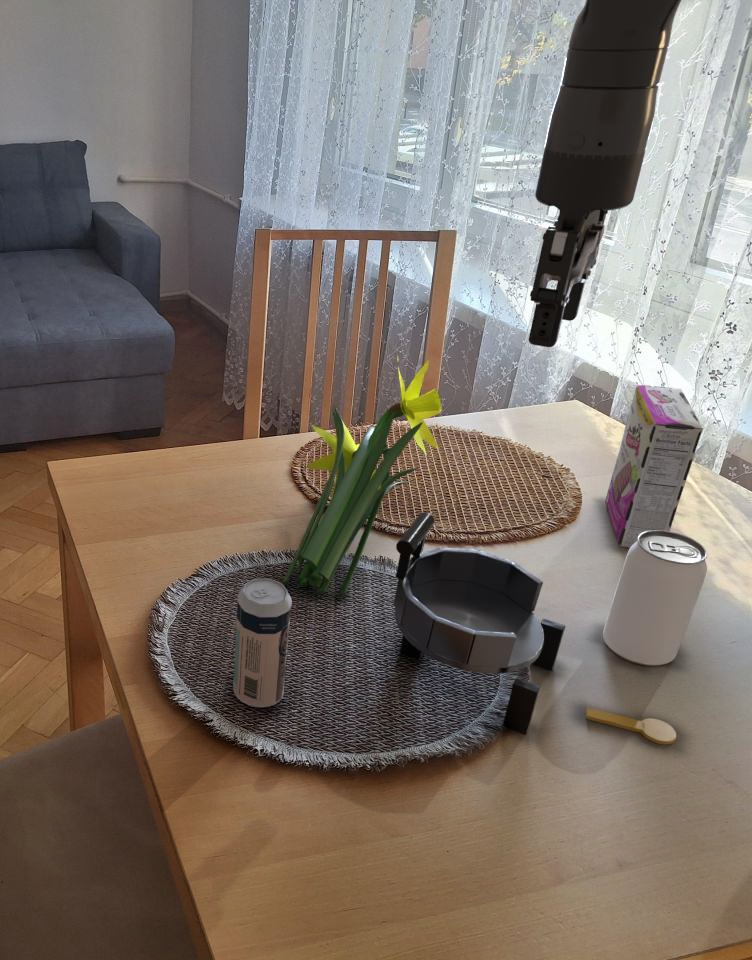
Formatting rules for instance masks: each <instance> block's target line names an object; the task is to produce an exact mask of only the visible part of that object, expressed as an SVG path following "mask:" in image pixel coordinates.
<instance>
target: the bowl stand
mask: <svg viewBox="0 0 752 960" xmlns="http://www.w3.org/2000/svg"><path fill="white" fill-rule="evenodd" d="M540 623H541V626H542V628H543V632H544V644H543V647H542V650H541V653H540V655H539V656H538V658H537V659H536V660H535V661H534V662H533V663H531V664H530V665H533V666H536V667H539V668H542V669H545V670H548V671H551V672H552V671H553V670H554V667H555V665H556V661H557V658H558V653H559V650H560V647H561V644H562V640H563V636H564V633H565V629H566V625H565V624H563V623H559V622H556V621H553V620H550V619H547V618H542V620H541V622H540ZM401 637H402V638H401V643H400V644H401V645H400V649H399V654H402V655H404V656H407V657H410V658H412V659H415V660H418V661H421V658H422V657H423V655H424V653H423V652H421V651H420V650H418V649H417V648H416V647H414V646H413V645H412V644H411V643H410V642H409V641H408V640H407V639H406V638H405V637H404V635H403V634H402V636H401ZM540 689H541V685H538V684H535V683H532V682H530V681H527V680H525V679H521V678H520V677H515V679H514V681H513V684H512V686H511V691H510V695H509V699H508V703H507V706H506V710H505V715H504V718H503V721H502V727H504V728H507V729H510V730H513V731H515V732H517V733H520V734H523V735H525V736H526V735H527V734H528V731H529V729H530V726H531V722H532V718H533V715H534V710H535V709H536V708H535V707H536V703H537V700H538V696H539V693H540Z"/></svg>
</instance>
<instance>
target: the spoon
mask: <svg viewBox="0 0 752 960" xmlns="http://www.w3.org/2000/svg"><path fill="white" fill-rule="evenodd" d="M585 715H586V716H585V719H586V720H588V721H593V722H595V723H596V722H597V723H599V724H605V725H609V726H612V727H616V728H619V729H624V730H626V731H627V730H628V731H631V732H635V733H639V734H641V735H642V736H643V737H644V738H646V740H648V741H650V742H653V743H654V744H659V745H671V744H674V743H675V741H676V739H677V736H678V735H677V732H676V730H675V729H674V727H673V726H672V725H670V724H669V723H667V722H666V721H664V720H661V719H659V718H653V717H650V718H649V717H648V718H644V719H642V720H639V719H635V718H631V717H627V716H623V715H619V714H615V713H611V712H608V711H603V710H600V709H595V708H591V707H586V711H585Z"/></svg>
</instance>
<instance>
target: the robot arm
mask: <svg viewBox="0 0 752 960" xmlns="http://www.w3.org/2000/svg"><path fill="white" fill-rule="evenodd" d="M681 2H682V0H585V4H584V6H583V8H581V11H580V12H579V14H578V15H577V17H576V19H575V22H574V24H573V27H572V30H571V34H570V38H569V42H568V46H567V51H566V56H565V60H564V67H563V70H562V77H561V81H560V85H559V89H558V94H557V96H556V100H555V102H554V105H553V107H552V111H551V114H550V118H549V124H548V128H547V132H546V133H547V134H546V139H545V144H544V148H543V154H542V159H541V165H540V170H539V175H538V179H537V184H536V189H535V193H534V196H535V199H536V200H537V201H538V203H540V204H542V205H543V206H547V207H554V208H556V209H557V210H559V212H558V216H557V219H556V220H555V221H554V222H553V225H552V226H551V225H549V226H548V227H547V228H546V229H545V232H544V233H543V235H542V245H541V249H540V254H539V257H538V263H537V267H536V271H535V276H534V281H533V285H532V289H531V291H530V293H529V297H530V301H531V302H534V303H535V307H534V313H533V317H532V321H531V325H530V331H529V335H528V343H529V344H530V345H533V346H538V347H544V348H552V347H554V346H555V345H556V344H557V343H558V339H559V335H560V330H561V326H562V321H568V322H571V321H574V320H575V319H576V318H577V316H578V314H579V310H580V305H581V301H582V296H583V293H584V289H585V284H586V280H588V279H589V277H591V275H592V269H593V268H594V266H596V264H597V259H598V255H599V252H600V251H599V250H600V244H601V241H602V239H603V236H604V234H605V227H606V226H605V220H606V216H607V215H608V213H609V211H616V210H621V209H624V208H626V207H629V206H630V205H631V204H632V203H633V201H634V198H635V194H636V191H637V186H638V182H639V179H640V174H641V170H642V166H643V163H644V159H645V155H646V151H647V146H648V143H649V140H650V135H651V131H652V127H653V124H654V118H655V114H656V107H657V106H656V104H657V95H658V90H659V84H660V81H661V78H662V74H663V70H664V66H665V62H666V57H667V54H668V47H669V45H670V42H671V41H670V40H671V35H672V30H673V26H674V24H673V23H674V21H675V17H676V14H677V12H678V9H679V7H680V4H681ZM550 281H554V282H556V287H555V289H554V288H549V287H547V286H548V283H549V282H550Z"/></svg>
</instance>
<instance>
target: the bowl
mask: <svg viewBox="0 0 752 960" xmlns="http://www.w3.org/2000/svg"><path fill="white" fill-rule="evenodd" d="M434 525H435V518H434V515H432V514H431V513H429V512H426V511H425V512H420V513H419V514H418V516H416V518H415V519H414V520H413V522H412V523H411V524H410V526H409V527H408V528H407V529H406V531H405V532H404V533H403V535H402V536H401V537H400V538H399V540H398V541H397V542H396V545H395V549H396V551H397V552H398V553H399V558H398V563H397V567H396V572H395V578H396V579H398V580H397V585H396V590H395V595H394V599H393V606H394V612H393V613H394V620H395V623H396V626H397V628H398V629H399V631H400V633H401V634H402V636H403V635H404V637H405V638H406V639H407V640H408V641H409V642H410V643H411V644H412V645H413V646H414V647H416V648H417V649H418V650H420V651H421V652H423V655H426V656H427V657H429V658H431V659H433V660H434V661H437V662H438V663H441V664H443V665H446V666H449V667H452V668H454V669H458V670H462V671H466V672H470V673H471V672H472V673H476V674H477V673H478V674H485V675H486V674H487V675H489V674H490V675H491V674H492V675H498V674H499V675H500V674H508V673H513V672H517V671H520V670H523V669H525V668H527V667H529V666H530V665H532V664H531V663H533V662H534V661H535V660H536V659H537V658H538V656H539V655H540V653H541V650H542V647H543V644H544V632H543V628H542V626H541V622H540V620H539V618H538V617H537V616H536V615H535V613H534V612H535V609H536V606H537V604H538V600H539V596H540V595H541V591H542V588H543V584H544V581H543V580H542V579H540V578H539V577H538V576H536V575H534V574H533V573H532V572H530V571H529V570H527V569H525V568H524V567H522V566H521V565H520V564H518V563H517V562H514V561H512V560H509V559H507V558H503V557H501V556H498V555H494V554H492V553H488V552H485V551H482V550H479V549H478V550H477V549H470V548H469V549H468V548H450V547H441V548H440V547H438V548H435V549H432V550H428V551H426V552H423V551H424V546H425V542H426V538H427V534H428V533H429V531H430V530H431V529H432V527H433V526H434Z"/></svg>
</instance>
